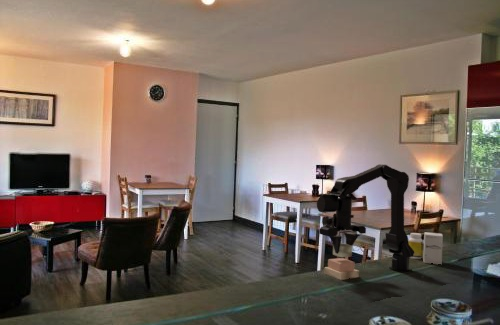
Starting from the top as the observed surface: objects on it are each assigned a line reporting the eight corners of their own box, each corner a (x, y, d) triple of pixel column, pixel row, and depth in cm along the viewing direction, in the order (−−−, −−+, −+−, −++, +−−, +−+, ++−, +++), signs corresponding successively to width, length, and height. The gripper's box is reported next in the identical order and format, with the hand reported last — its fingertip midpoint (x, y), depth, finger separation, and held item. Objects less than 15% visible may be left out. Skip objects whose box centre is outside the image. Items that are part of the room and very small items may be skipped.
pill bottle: (423, 259, 187) (424, 235, 187) (409, 258, 188) (410, 234, 188) (420, 256, 193) (421, 233, 193) (406, 255, 195) (407, 232, 194)
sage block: (342, 253, 161) (343, 243, 161) (351, 256, 157) (352, 245, 157) (332, 254, 159) (333, 244, 159) (341, 257, 154) (342, 246, 154)
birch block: (341, 272, 164) (342, 264, 164) (358, 278, 156) (358, 270, 156) (324, 275, 159) (324, 267, 159) (340, 281, 152) (340, 273, 152)
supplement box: (423, 263, 181) (424, 234, 181) (423, 259, 188) (424, 231, 188) (441, 265, 178) (443, 235, 178) (441, 261, 185) (442, 233, 185)
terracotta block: (342, 265, 163) (342, 258, 163) (354, 270, 156) (354, 262, 156) (327, 267, 160) (328, 259, 160) (339, 271, 153) (339, 263, 153)
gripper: (347, 208, 169) (345, 246, 169) (310, 209, 160) (309, 250, 160) (367, 211, 160) (366, 252, 160) (330, 213, 150) (328, 256, 151)
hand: (342, 252), depth 158 cm, fingers closed on sage block, 5 cm apart
